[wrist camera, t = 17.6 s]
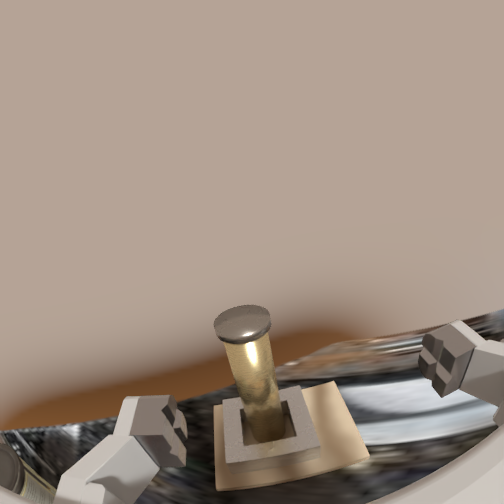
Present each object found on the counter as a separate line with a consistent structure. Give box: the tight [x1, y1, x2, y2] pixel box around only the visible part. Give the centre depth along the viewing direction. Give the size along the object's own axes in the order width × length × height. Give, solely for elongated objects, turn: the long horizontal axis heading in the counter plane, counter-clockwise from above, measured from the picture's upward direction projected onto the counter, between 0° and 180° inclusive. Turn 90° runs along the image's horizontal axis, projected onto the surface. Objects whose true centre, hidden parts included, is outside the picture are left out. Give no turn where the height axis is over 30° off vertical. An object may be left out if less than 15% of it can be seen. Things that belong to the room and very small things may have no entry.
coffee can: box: [0, 443, 57, 504], centre depth 15 cm, size 10×10×14 cm
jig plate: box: [214, 381, 370, 491], centre depth 34 cm, size 20×16×1 cm
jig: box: [223, 385, 321, 474], centre depth 34 cm, size 12×12×4 cm
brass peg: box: [214, 305, 286, 443], centre depth 32 cm, size 6×6×20 cm
